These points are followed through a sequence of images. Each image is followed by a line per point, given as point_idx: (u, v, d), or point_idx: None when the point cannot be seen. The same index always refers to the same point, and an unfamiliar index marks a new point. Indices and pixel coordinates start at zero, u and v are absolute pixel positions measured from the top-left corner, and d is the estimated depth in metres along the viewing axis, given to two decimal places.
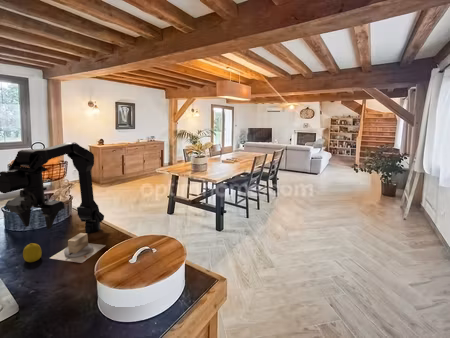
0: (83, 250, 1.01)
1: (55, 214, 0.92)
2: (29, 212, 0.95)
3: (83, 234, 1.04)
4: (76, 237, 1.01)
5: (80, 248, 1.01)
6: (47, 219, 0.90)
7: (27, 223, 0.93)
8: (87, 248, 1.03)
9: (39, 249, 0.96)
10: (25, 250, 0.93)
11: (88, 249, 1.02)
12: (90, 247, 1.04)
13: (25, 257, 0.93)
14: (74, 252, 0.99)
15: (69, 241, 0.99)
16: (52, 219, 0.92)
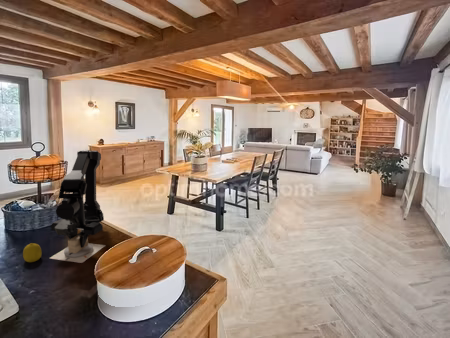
0: (83, 250, 1.01)
1: None
2: (76, 233, 1.04)
3: None
4: (76, 237, 1.01)
5: (80, 248, 1.01)
6: (81, 239, 1.00)
7: None
8: (87, 248, 1.03)
9: (39, 249, 0.96)
10: (25, 250, 0.93)
11: (88, 249, 1.02)
12: (90, 247, 1.04)
13: (25, 257, 0.93)
14: (74, 252, 0.99)
15: (69, 241, 0.99)
16: (85, 238, 1.02)
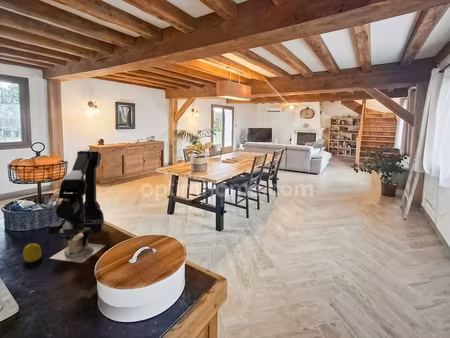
0: (83, 250, 1.01)
1: (89, 232, 1.04)
2: None
3: None
4: (76, 237, 1.01)
5: (80, 248, 1.01)
6: (86, 237, 1.01)
7: None
8: (87, 248, 1.03)
9: (39, 249, 0.96)
10: (25, 250, 0.93)
11: (88, 249, 1.02)
12: (90, 247, 1.04)
13: (25, 257, 0.93)
14: (75, 252, 0.99)
15: (69, 241, 0.98)
16: (87, 237, 1.03)
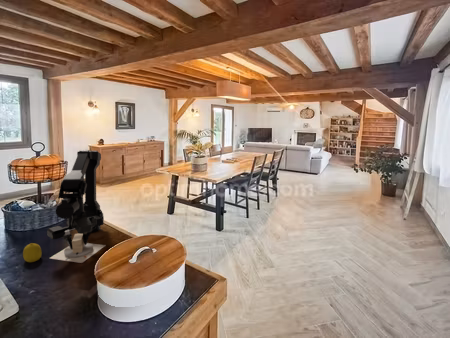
0: (86, 248, 1.03)
1: None
2: None
3: (80, 234, 1.04)
4: (77, 237, 1.01)
5: (82, 247, 1.02)
6: (88, 234, 1.04)
7: None
8: (88, 246, 1.05)
9: (39, 249, 0.96)
10: (25, 250, 0.93)
11: (90, 246, 1.04)
12: (89, 245, 1.06)
13: (25, 257, 0.93)
14: (80, 251, 1.00)
15: (74, 241, 0.98)
16: None
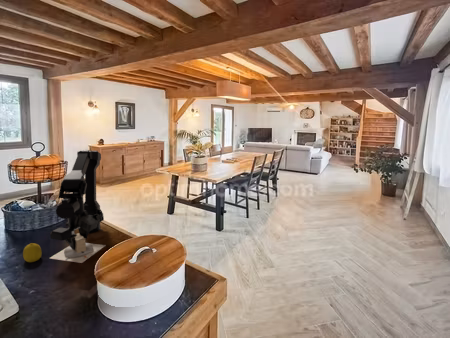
0: (87, 247, 1.04)
1: None
2: None
3: (77, 234, 1.04)
4: (77, 237, 1.01)
5: None
6: (87, 233, 1.05)
7: None
8: (86, 245, 1.06)
9: (39, 249, 0.96)
10: (25, 250, 0.93)
11: (89, 245, 1.06)
12: (87, 243, 1.07)
13: (25, 257, 0.93)
14: (85, 250, 1.01)
15: (78, 241, 0.99)
16: None
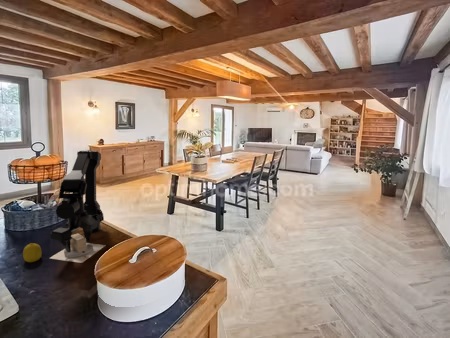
0: (87, 246, 1.04)
1: None
2: None
3: (76, 234, 1.04)
4: (77, 237, 1.01)
5: None
6: (91, 231, 1.07)
7: None
8: (86, 245, 1.06)
9: (39, 249, 0.96)
10: (25, 250, 0.93)
11: (89, 244, 1.06)
12: (86, 243, 1.07)
13: (25, 257, 0.93)
14: (85, 249, 1.01)
15: (79, 241, 0.99)
16: None
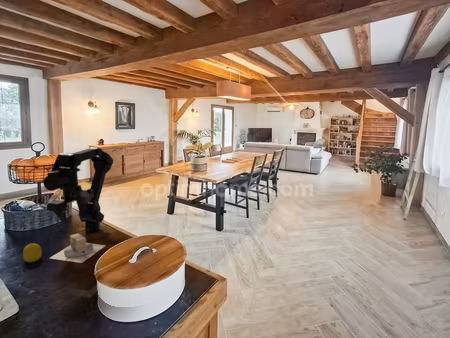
0: (87, 246, 1.04)
1: None
2: None
3: (76, 234, 1.04)
4: (77, 237, 1.01)
5: None
6: (85, 206, 1.13)
7: None
8: (86, 245, 1.06)
9: (39, 249, 0.96)
10: (25, 250, 0.93)
11: (89, 244, 1.06)
12: (86, 243, 1.07)
13: (25, 257, 0.93)
14: (85, 249, 1.01)
15: (79, 241, 0.99)
16: None
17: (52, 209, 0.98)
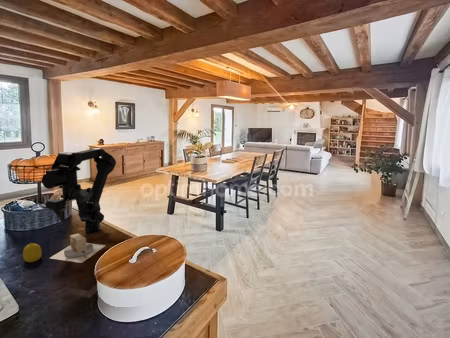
0: (87, 246, 1.04)
1: None
2: None
3: (76, 234, 1.04)
4: (77, 237, 1.01)
5: None
6: (84, 205, 1.13)
7: None
8: (86, 245, 1.06)
9: (39, 249, 0.96)
10: (25, 250, 0.93)
11: (89, 244, 1.06)
12: (86, 243, 1.07)
13: (25, 257, 0.93)
14: (85, 249, 1.01)
15: (79, 241, 0.99)
16: None
17: (51, 207, 0.99)
